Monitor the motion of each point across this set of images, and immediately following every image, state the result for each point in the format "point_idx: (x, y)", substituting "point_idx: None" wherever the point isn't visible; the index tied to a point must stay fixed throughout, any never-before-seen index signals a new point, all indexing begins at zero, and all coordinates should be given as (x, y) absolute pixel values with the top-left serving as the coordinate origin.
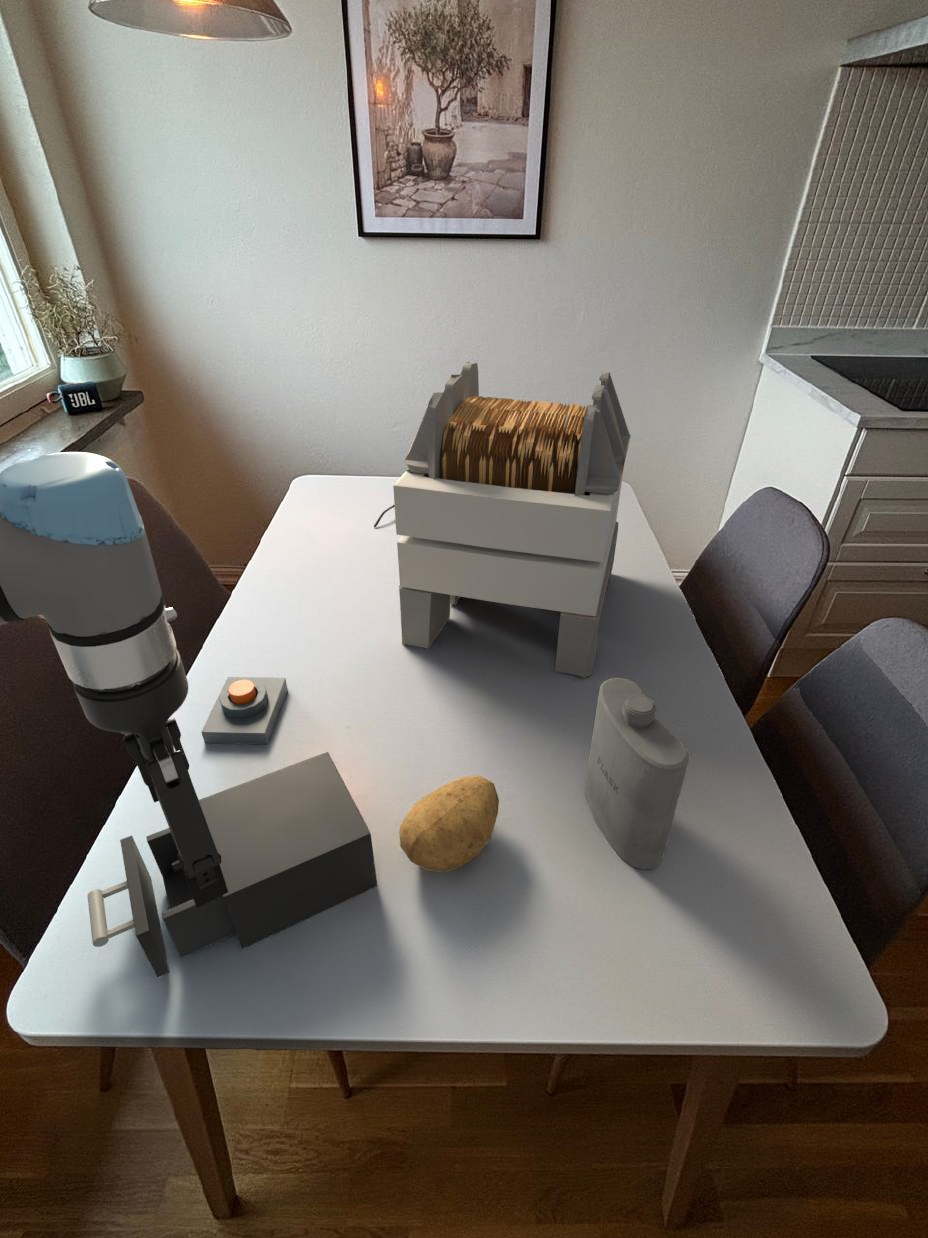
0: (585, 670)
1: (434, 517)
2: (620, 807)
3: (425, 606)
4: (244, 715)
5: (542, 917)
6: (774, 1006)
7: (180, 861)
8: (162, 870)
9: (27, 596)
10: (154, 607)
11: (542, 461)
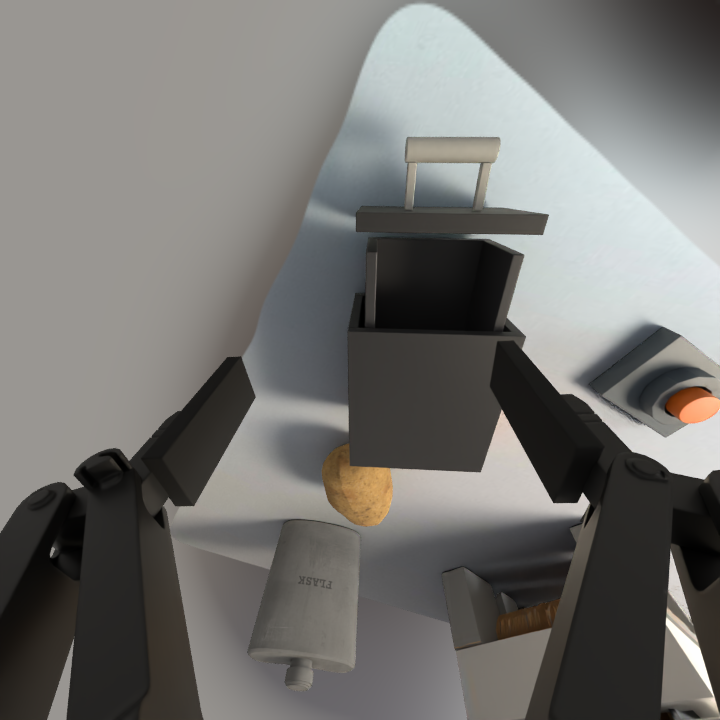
0: (444, 581)
1: None
2: (295, 566)
3: None
4: (651, 388)
5: (279, 473)
6: (191, 520)
7: (98, 481)
8: (487, 245)
9: None
10: None
11: None
